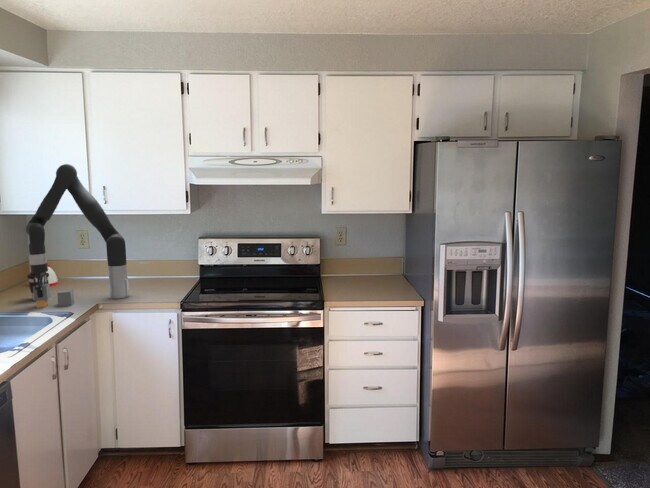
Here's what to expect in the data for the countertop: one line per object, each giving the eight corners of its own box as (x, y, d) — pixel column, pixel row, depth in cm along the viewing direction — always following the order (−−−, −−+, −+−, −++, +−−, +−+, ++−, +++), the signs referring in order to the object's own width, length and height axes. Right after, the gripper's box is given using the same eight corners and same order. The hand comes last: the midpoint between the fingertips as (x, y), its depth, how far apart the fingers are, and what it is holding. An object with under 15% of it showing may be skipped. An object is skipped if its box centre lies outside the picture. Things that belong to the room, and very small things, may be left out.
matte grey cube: (74, 302, 270) (73, 289, 269) (71, 305, 265) (70, 292, 264) (61, 303, 269) (60, 290, 268) (58, 306, 263) (57, 292, 262)
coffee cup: (27, 302, 272) (24, 273, 270) (32, 297, 282) (29, 270, 280) (48, 300, 275) (46, 272, 273) (52, 296, 285) (50, 268, 282)
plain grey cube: (50, 297, 267) (49, 283, 266) (47, 299, 261) (46, 286, 260) (37, 298, 266) (36, 284, 265) (34, 300, 260) (32, 287, 259)
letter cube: (47, 305, 267) (47, 297, 266) (45, 307, 263) (45, 299, 262) (39, 305, 266) (38, 297, 265) (36, 307, 262) (36, 299, 261)
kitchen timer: (32, 283, 316) (30, 259, 314) (58, 281, 322) (56, 257, 319) (30, 288, 303) (28, 262, 301) (57, 286, 309) (55, 260, 307)
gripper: (43, 264, 255) (46, 298, 257) (50, 259, 269) (54, 291, 271) (25, 265, 253) (29, 300, 256) (34, 260, 267) (38, 293, 269)
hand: (42, 295), depth 263 cm, fingers closed on plain grey cube, 6 cm apart
